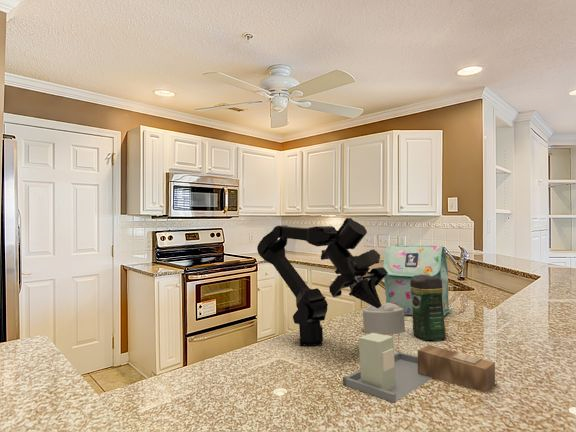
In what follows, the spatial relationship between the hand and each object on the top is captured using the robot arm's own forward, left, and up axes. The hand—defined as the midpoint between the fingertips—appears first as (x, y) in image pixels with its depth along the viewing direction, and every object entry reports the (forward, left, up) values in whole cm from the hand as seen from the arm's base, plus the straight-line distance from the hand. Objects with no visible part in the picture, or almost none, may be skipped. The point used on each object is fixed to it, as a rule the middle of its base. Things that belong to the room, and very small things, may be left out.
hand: (379, 307), depth 90 cm
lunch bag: (+26, +52, -14) cm, 59 cm away
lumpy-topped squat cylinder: (+7, +29, -14) cm, 33 cm away
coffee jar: (+19, +20, -14) cm, 30 cm away
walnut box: (+7, -8, -10) cm, 15 cm away
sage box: (-4, -16, -13) cm, 21 cm away
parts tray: (+1, -11, -13) cm, 17 cm away
